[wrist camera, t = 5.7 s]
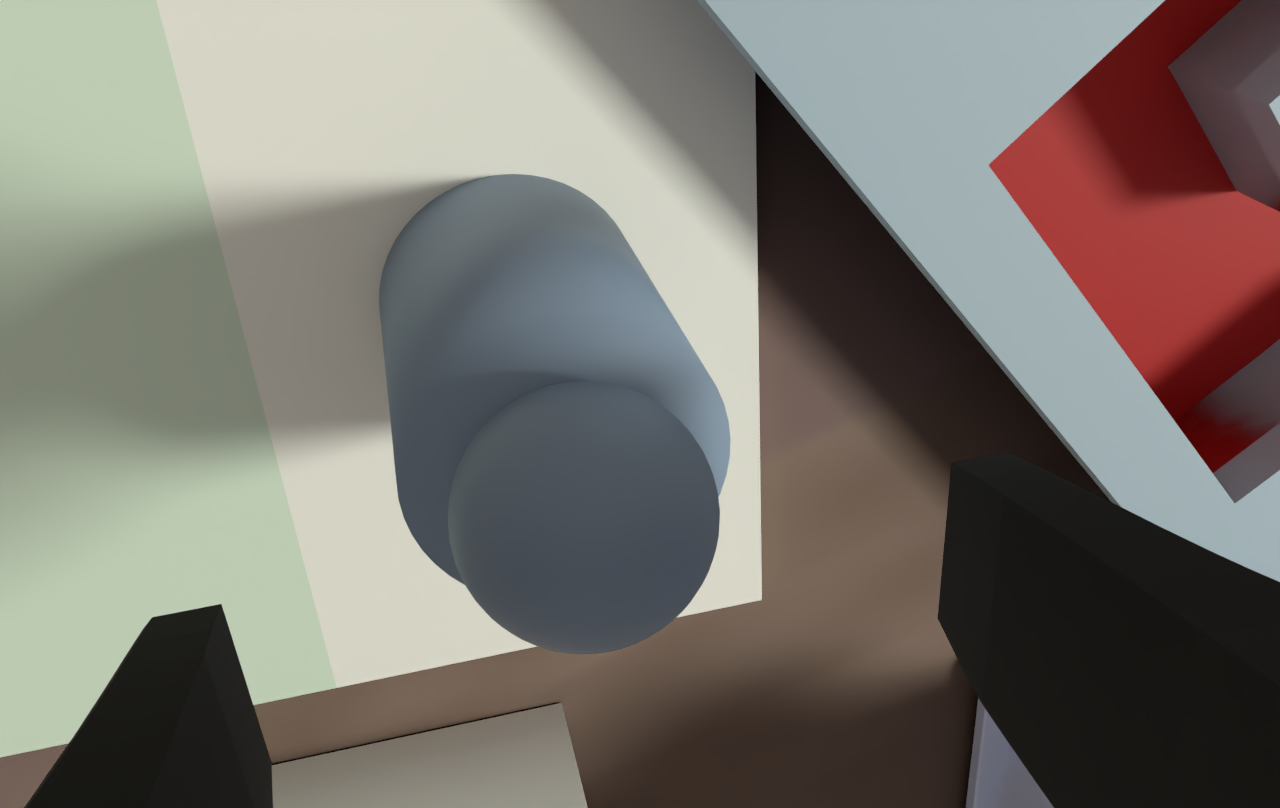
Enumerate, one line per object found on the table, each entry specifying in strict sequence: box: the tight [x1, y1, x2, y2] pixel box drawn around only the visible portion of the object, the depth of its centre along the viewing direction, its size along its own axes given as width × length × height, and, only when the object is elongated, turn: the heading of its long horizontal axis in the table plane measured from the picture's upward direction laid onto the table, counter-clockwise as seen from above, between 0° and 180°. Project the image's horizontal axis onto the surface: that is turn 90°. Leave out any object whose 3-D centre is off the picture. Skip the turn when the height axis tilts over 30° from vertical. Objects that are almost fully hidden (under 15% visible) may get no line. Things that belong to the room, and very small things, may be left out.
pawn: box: [379, 174, 731, 654], centre depth 15 cm, size 4×4×8 cm
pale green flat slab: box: [0, 0, 762, 757], centre depth 17 cm, size 16×14×1 cm
